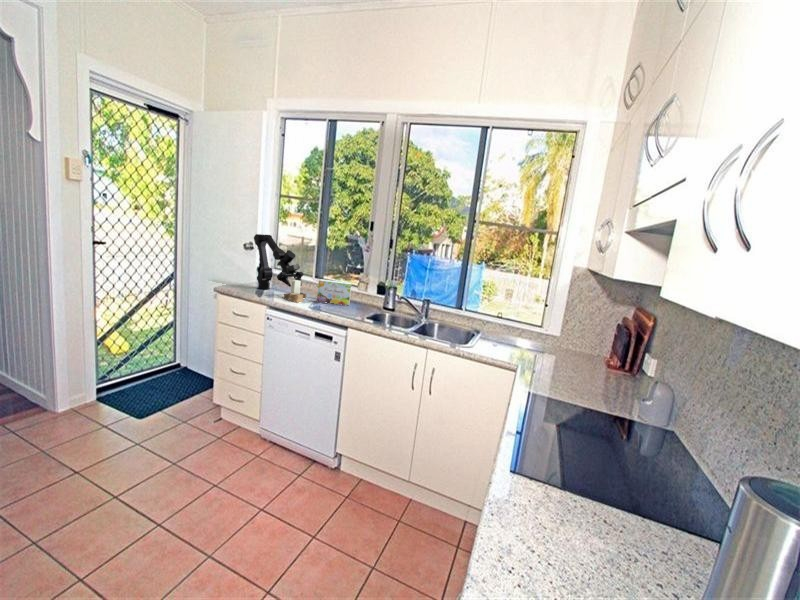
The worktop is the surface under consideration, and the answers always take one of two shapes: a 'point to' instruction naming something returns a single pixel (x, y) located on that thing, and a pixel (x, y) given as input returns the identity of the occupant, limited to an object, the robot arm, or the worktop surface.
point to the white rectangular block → (295, 286)
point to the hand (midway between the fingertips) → (295, 286)
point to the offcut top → (296, 296)
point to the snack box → (334, 292)
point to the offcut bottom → (296, 300)
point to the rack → (290, 293)
